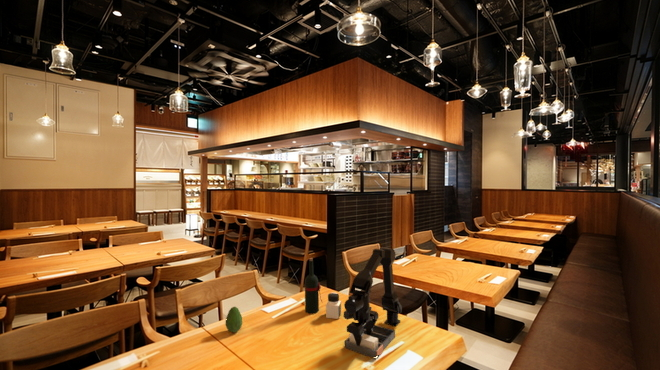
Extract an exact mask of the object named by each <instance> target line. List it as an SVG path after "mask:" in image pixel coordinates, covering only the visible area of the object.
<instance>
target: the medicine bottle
mask: <svg viewBox="0 0 660 370" xmlns="http://www.w3.org/2000/svg"><path fill="white" fill-rule="evenodd" d="M341 314H342V301H341V300H340V295H339V293H337V292H330V293H328V294H327V302H326V305H325V316H326V317H325V318H326V319H336V320H339V319H340V317H341Z"/></svg>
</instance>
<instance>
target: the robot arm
mask: <svg viewBox="0 0 660 370" xmlns="http://www.w3.org/2000/svg"><path fill="white" fill-rule="evenodd" d="M396 255H397V254H396V251H395V250H394V249H393V248H389V247H379V248H374V249H372V254H371V256H370V258H369V259H368V261H367V263H366V264H365V266H364V267H363V269H362V270H360V271H359V272H358V273H356V275H355V276H354V278H353V280H352V283H351V286H350V290H349V294H351V295H349V296H348V297H347V298H348V299H347V300H345V302H344V305H343V306H344V309H345V310H344V311H343V318H344V319H345V320H346V321H347V320H352V319H353V321H352V322H351V323H349V324H348V325H346V332H347V333H349V334H351V333H352V334H353V336H354V338H355V341H356V344H357V346H360V344H361V341H362V337H363V334H364V332H363V330H364V327H363V326H364V325H365V324H366V331H367V335H369V336H370V335H371V332H372V330H373V328H374V326H375V325H376V323H377V322H378V319H379V313H378V311H377V310H376V311H375V310H373V309H372V306H370V294H371V293H372V290H371V289H372V286H373V284H374V281H373V277H374V275H375V273H376V271H377V269H378V267H379V265H380V264H381V267H382V277H383V287H384V293H383V295H382V297H381V307H382V311H386V320H385V321H384V322H383V323H384V324H386V325H389V326H394V327H397V326H398V325H399V324H400V322H401V320H400V319H399V314H402V310H403V305H402V304H401V302H399V301H400V300H399V296H398V295H397V294H396V292H395V283H394V273H393V272H394V271H393V270H394V269H393V263H395V260H396ZM355 321H357V322H355Z"/></svg>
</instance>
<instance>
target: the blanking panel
mask: <svg viewBox="0 0 660 370" xmlns="http://www.w3.org/2000/svg"><path fill="white" fill-rule="evenodd" d="M348 337H349V342H352V343H355V344H356V341H355V338H354V336H353V334H352V333H349V336H348ZM360 346H363V347H366V348H369V349H372V350H376V349H377V348H378V338H375V337H372V336H369V335H366V334H363V337H362V341H361V344H360Z"/></svg>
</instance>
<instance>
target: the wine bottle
mask: <svg viewBox="0 0 660 370" xmlns="http://www.w3.org/2000/svg"><path fill="white" fill-rule="evenodd" d="M313 259H314V258H313V257H310V258H309V260H308V263H309V265H308V267H309V271H308V275H307V276H306V277H305V278H304V311H305V313H306V314H311V315H312V314H313V313H315V314H317V313H319V311H320V301H321V302H323V299H322V297H321V295H320V293H321V291H320V290H321V288H322V287H321V283H320V282H319V279H318V276H317V275H315V274H314V260H313ZM319 296H320V297H319ZM319 298H320V300H319ZM313 315H314V314H313Z"/></svg>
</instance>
